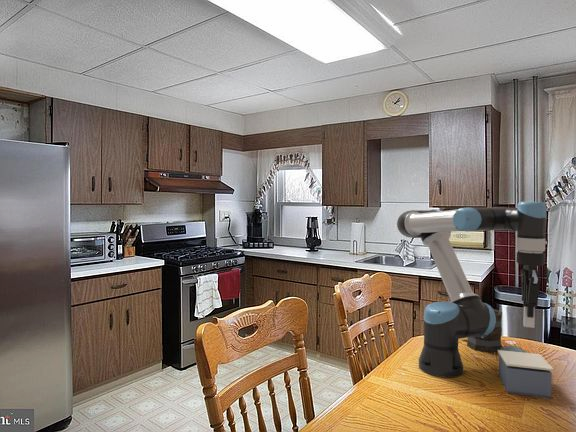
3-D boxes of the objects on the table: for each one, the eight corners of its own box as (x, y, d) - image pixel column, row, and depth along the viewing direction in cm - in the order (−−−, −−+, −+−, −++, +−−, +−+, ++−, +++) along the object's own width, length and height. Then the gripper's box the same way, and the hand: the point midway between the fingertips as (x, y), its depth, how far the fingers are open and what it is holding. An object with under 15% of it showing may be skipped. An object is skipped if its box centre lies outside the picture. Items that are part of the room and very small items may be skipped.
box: (507, 393, 124) (507, 368, 124) (498, 374, 138) (498, 351, 137) (551, 398, 121) (551, 373, 120) (537, 379, 134) (538, 356, 134)
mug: (508, 348, 162) (509, 312, 161) (491, 355, 154) (492, 318, 154) (464, 335, 178) (464, 302, 178) (446, 341, 170) (447, 307, 170)
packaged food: (522, 355, 155) (522, 343, 155) (537, 368, 143) (537, 354, 143) (498, 354, 156) (499, 342, 156) (512, 367, 144) (512, 354, 144)
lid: (506, 365, 124) (506, 363, 124) (497, 351, 137) (497, 349, 137) (553, 371, 120) (553, 369, 120) (539, 355, 134) (539, 354, 134)
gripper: (551, 254, 114) (549, 334, 116) (538, 249, 127) (536, 321, 128) (522, 253, 117) (520, 332, 118) (512, 248, 129) (510, 319, 130)
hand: (528, 326), depth 123 cm, fingers closed
